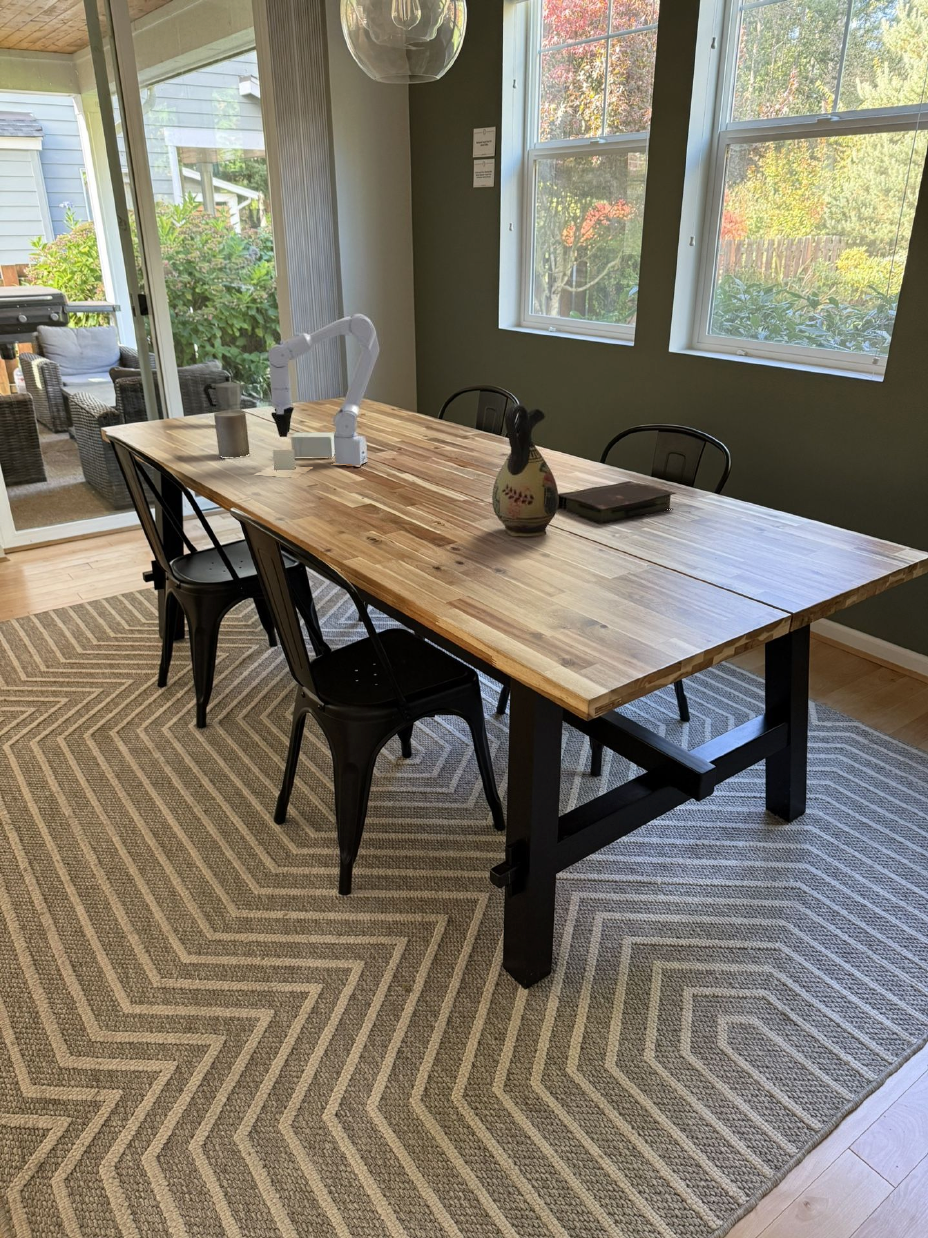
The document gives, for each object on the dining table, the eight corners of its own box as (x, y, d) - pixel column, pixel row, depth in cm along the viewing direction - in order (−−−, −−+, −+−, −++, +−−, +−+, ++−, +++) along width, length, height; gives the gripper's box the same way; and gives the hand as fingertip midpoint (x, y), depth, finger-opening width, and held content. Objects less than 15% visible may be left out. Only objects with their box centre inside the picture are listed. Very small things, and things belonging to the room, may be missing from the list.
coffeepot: (250, 423, 333) (245, 374, 326) (250, 428, 325) (245, 377, 318) (208, 425, 330) (202, 375, 323) (207, 429, 322) (201, 379, 315)
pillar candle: (254, 453, 286) (249, 406, 280) (244, 459, 277) (239, 411, 271) (225, 452, 287) (219, 405, 281) (214, 459, 278) (208, 411, 272)
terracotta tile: (275, 469, 263) (273, 449, 261) (295, 469, 264) (294, 449, 261) (274, 471, 262) (272, 451, 259) (295, 470, 262) (293, 450, 260)
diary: (554, 511, 228) (555, 491, 226) (626, 497, 240) (627, 478, 238) (602, 527, 213) (603, 507, 211) (677, 512, 226) (678, 492, 224)
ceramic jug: (517, 518, 219) (520, 395, 207) (569, 530, 210) (576, 402, 198) (473, 534, 207) (474, 404, 195) (527, 548, 198) (532, 412, 186)
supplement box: (292, 459, 277) (332, 459, 277) (290, 436, 274) (330, 436, 274) (297, 455, 284) (336, 455, 284) (295, 431, 281) (335, 431, 281)
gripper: (270, 384, 265) (273, 429, 271) (264, 391, 252) (268, 439, 257) (293, 384, 266) (297, 429, 271) (289, 391, 253) (292, 439, 258)
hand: (284, 434), depth 264 cm, fingers open, 6 cm apart
